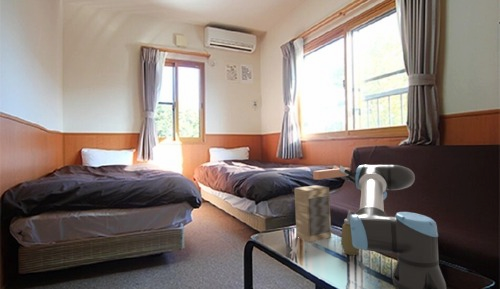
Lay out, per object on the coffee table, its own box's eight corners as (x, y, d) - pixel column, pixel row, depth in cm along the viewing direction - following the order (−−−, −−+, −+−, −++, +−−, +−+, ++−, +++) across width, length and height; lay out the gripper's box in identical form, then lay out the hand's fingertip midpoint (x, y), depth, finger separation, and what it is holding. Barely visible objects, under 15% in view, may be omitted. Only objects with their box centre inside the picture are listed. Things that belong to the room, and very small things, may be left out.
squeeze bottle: (363, 256, 120) (361, 213, 120) (342, 256, 122) (340, 213, 121) (359, 249, 128) (357, 208, 128) (340, 249, 129) (338, 208, 129)
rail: (345, 174, 159) (344, 167, 159) (350, 175, 156) (350, 168, 155) (313, 178, 149) (312, 171, 149) (318, 179, 146) (318, 171, 146)
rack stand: (318, 232, 154) (316, 185, 154) (331, 237, 145) (329, 187, 145) (296, 236, 148) (294, 188, 148) (309, 242, 139) (306, 190, 139)
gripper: (375, 193, 155) (346, 175, 145) (351, 189, 170) (323, 172, 161) (380, 180, 156) (351, 162, 147) (355, 177, 171) (328, 160, 162)
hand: (336, 167), depth 154 cm, fingers closed on rail, 4 cm apart
